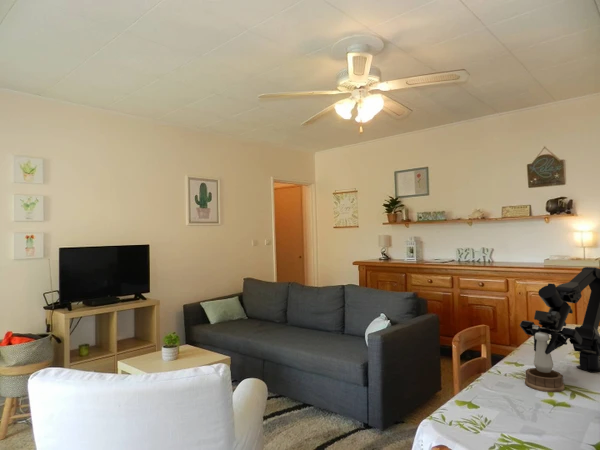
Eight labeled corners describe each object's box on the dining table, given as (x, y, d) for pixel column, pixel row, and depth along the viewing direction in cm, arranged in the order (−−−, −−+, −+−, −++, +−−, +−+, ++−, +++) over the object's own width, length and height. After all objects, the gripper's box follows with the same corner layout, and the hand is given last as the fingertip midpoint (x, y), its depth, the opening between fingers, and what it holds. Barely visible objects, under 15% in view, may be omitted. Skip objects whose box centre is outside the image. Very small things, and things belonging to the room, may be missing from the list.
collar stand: (542, 377, 144) (542, 365, 144) (573, 389, 132) (572, 376, 133) (517, 381, 140) (516, 370, 140) (545, 394, 129) (545, 381, 129)
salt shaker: (557, 372, 134) (555, 334, 135) (543, 374, 133) (541, 335, 134) (544, 367, 140) (542, 330, 140) (530, 368, 139) (528, 331, 139)
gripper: (521, 298, 147) (503, 332, 142) (575, 305, 131) (558, 344, 125) (535, 316, 151) (518, 351, 145) (589, 325, 134) (573, 364, 129)
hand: (540, 352), depth 136 cm, fingers closed on salt shaker, 3 cm apart
